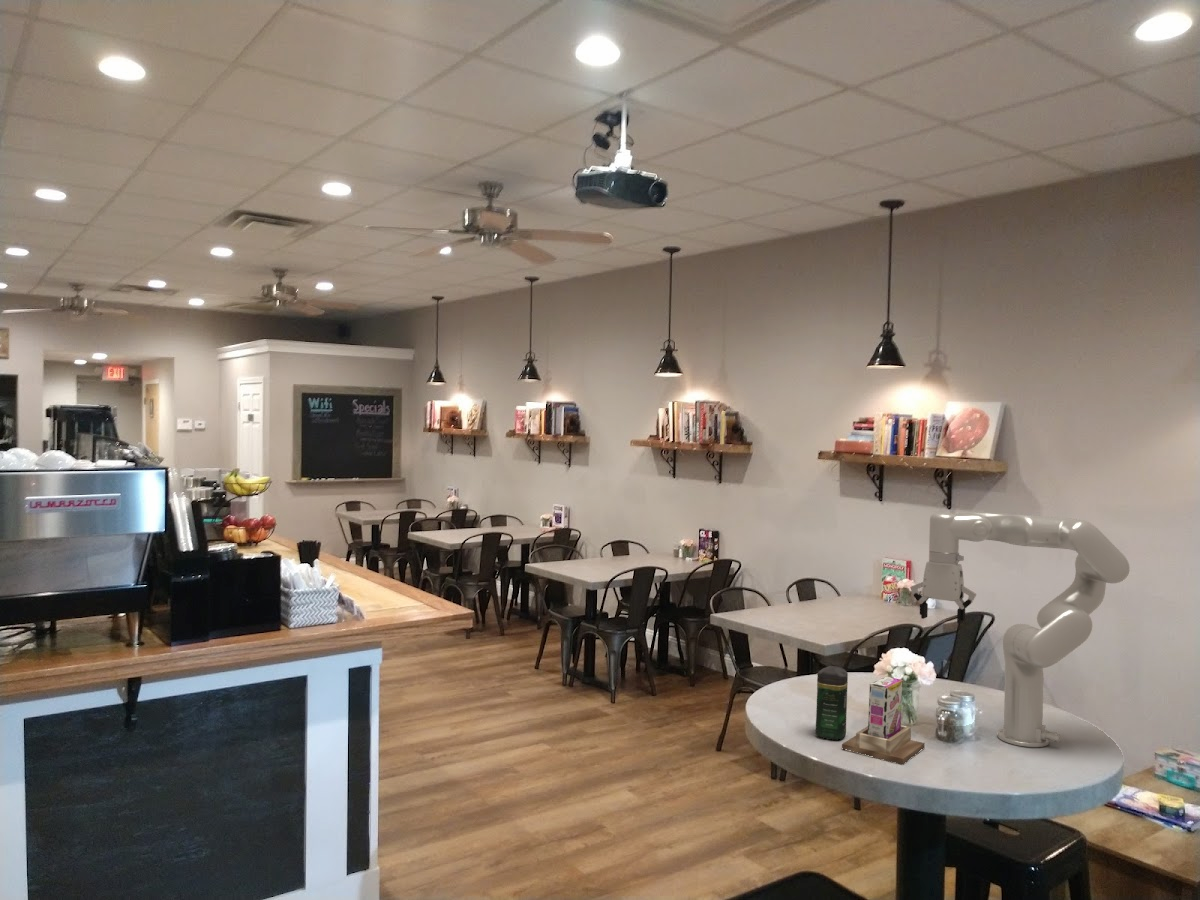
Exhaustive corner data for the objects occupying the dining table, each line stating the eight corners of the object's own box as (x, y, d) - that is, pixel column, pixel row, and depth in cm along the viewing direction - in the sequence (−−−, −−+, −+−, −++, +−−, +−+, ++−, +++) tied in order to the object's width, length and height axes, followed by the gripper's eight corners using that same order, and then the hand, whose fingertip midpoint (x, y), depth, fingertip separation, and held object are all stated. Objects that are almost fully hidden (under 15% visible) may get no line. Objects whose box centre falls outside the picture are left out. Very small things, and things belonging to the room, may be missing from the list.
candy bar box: (885, 751, 223) (887, 687, 223) (866, 746, 226) (868, 683, 226) (901, 740, 231) (903, 679, 231) (883, 736, 234) (885, 675, 234)
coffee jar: (842, 743, 233) (844, 673, 233) (812, 738, 236) (814, 669, 236) (848, 732, 241) (850, 666, 241) (820, 728, 245) (821, 662, 245)
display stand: (924, 748, 230) (924, 729, 230) (902, 764, 217) (903, 744, 217) (865, 735, 240) (866, 716, 240) (841, 749, 227) (842, 730, 227)
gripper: (980, 560, 237) (978, 623, 237) (916, 554, 247) (915, 614, 247) (972, 562, 231) (970, 627, 231) (907, 556, 242) (905, 617, 242)
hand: (941, 620), depth 239 cm, fingers open, 9 cm apart
